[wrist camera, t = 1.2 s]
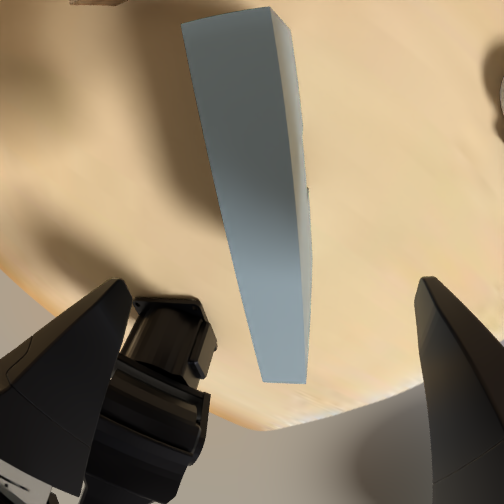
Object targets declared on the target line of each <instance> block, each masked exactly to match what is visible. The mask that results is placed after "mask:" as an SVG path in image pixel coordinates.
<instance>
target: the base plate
mask: <svg viewBox="0 0 504 504" xmlns="http://www.w3.org/2000/svg"><path fill="white" fill-rule="evenodd" d="M69 1H70V5H108V6H116V5H119V4H121V3H123V2H126V1H128V0H69Z"/></svg>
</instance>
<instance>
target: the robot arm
mask: <svg viewBox="0 0 504 504" xmlns="http://www.w3.org/2000/svg"><path fill="white" fill-rule="evenodd" d="M132 302H133V305H134V307H135V309H136V311H137V312H138V314H139V316H138V318H137V320H136V322H135V324H134V326H133V328H132V330H131V332H130V334H129V336H128V338H127V340H126V342H125V344H124V346H123V348H122V350H121V352H120V353H119V351H120V348H121V345H122V342H123V338H124V334H125V330H126V326H127V322H128V318H129V314H130V310H131V307H132ZM414 307H415V315H416V325H417V335H418V347H419V356H420V362H421V368H422V374H423V380H424V387H425V394H426V401H427V409H428V418H429V428H430V439H431V452H432V475H433V476H432V477H433V504H504V347H503V346H502V344H501V343H500V342H499V341H498V340H497V339H496V338H495V337H494V336H493V334H492V333H491V332H490V331H489V330H488V329H487V328H486V327H485V326H484V325H483V324H482V323H481V322H480V321H479V320H478V318H477V317H476V316H475V315H474V314H473V313H472V312H471V311H470V310H469V309H468V308H467V307H466V306H465V305H464V304H463V303H462V302H461V301H460V300H459V299H458V298H457V297H456V296H455V295H454V294H453V293H452V292H451V291H450V290H449V289H448V288H446V287H445V286H444V285H443V284H442V283H441V282H440V281H439V280H438V279H437V278H436V277H434V276H426V277H422V278H421V279H420V281H419V284H418V288H417V292H416V295H415V300H414ZM216 342H217V340H216V337H215V335H214V332H213V329H212V327H211V324H210V323H209V322H208V320H207V317H206V314H205V312H204V309H203V307H202V304H201V303H200V302H199V301H196V300H176V299H156V298H138V297H137V298H135V299H134V300H133V299H132V295H131V293H130V291H129V289H128V287H127V285H126V284H125V282H124V280H123V279H121V278H111V279H109V280H107V281H106V282H105V283H103V284H102V285H100V286H99V287H97V288H96V289H95V290H93V291H92V292H90V293H89V294H88V295H86V296H85V297H83V298H82V299H81V300H79V301H78V302H76V303H75V304H74V305H72V306H71V307H70V308H68V309H67V310H66V311H64V312H63V313H61V314H60V315H59V316H57V317H56V318H55V319H53V320H52V321H51V322H49V323H48V324H47V325H45V326H44V327H43V328H41V329H40V330H39V331H37V332H36V333H35V334H34V335H33V336H31V337H30V338H28V339H27V340H26V341H24V342H23V343H22V344H21V345H19V346H18V347H17V348H16V349H14V350H12V351H11V352H10V353H8V354H7V355H5V356H4V357H3V358H1V359H0V504H59V502H58V500H57V497H56V495H55V494H54V493H52V492H51V489H52V487H55V488H57V489H60V490H62V491H64V492H67V493H69V494H71V495H74V496H77V497H79V496H80V493H81V488H82V484H83V480H84V483H85V486H84V489H83V492H82V494H81V497H80V500H79V503H78V504H151V503H153V502H158V503H161V504H167V503H168V502H169V501H170V500H172V499H173V498H174V497H175V496H176V494H177V491H178V488H179V485H180V482H181V479H182V477H183V475H184V472H185V470H186V468H187V466H191V465H193V463H195V461H196V460H197V458H198V457H199V455H200V453H201V451H202V448H203V445H204V442H205V438H206V431H207V422H208V413H209V405H210V397H211V394H209V393H206V392H201V391H199V390H197V387H198V383H199V380H200V379H204V378H206V376H207V373H208V369H209V366H210V362H211V359H212V356H213V352H214V351H216V350H217V347H218V345H217V343H216ZM110 378H112V379H111V380H110Z"/></svg>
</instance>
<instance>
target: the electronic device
mask: <svg viewBox="0 0 504 504" xmlns="http://www.w3.org/2000/svg"><path fill="white" fill-rule="evenodd" d="M500 102H501V108H502V112H503V115H504V77H503V80H502V83H501V88H500Z"/></svg>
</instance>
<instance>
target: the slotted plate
mask: <svg viewBox="0 0 504 504" xmlns="http://www.w3.org/2000/svg"><path fill="white" fill-rule="evenodd" d="M181 29H182V34H183V39H184V44H185V49H186V54H187V59H188V64H189V69H190V74H191V79H192V83H193V88H194V93H195V98H196V102H197V107H198V112H199V116H200V121H201V126H202V130H203V135H204V140H205V144H206V149H207V153H208V158H209V162H210V167H211V171H212V175H213V180H214V184H215V189H216V193H217V197H218V202H219V206H220V210H221V215H222V219H223V223H224V228H225V232H226V236H227V240H228V244H229V249H230V253H231V257H232V261H233V265H234V269H235V274H236V278H237V282H238V286H239V290H240V294H241V298H242V302H243V306H244V310H245V314H246V318H247V322H248V326H249V330H250V334H251V338H252V342H253V346H254V350H255V353H256V357H257V361H258V365H259V369H260V373H261V377H262V380H263V382H269V383H292V384H306V377H307V363H308V349H309V332H310V313H311V288H312V242H311V222H310V206H309V191H308V188H307V185H306V173H305V161H304V150H303V139H302V134H303V122H302V113H301V104H300V95H299V87H298V79H297V71H296V64H295V57H294V50H293V43H292V36H291V30H290V29H289V28H288V27H287V26H286V25H285V23H284V22H283V21H282V20H281V19H280V18H279V16H278V15H277V14H276V13H275V12H274V11H273V10H272V9H271V7H262V8H255V9H248V10H242V11H236V12H231V13H225V14H220V15H216V16H211V17H207V18H202V19H198V20H194V21H190V22H186V23H183V24H181Z"/></svg>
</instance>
